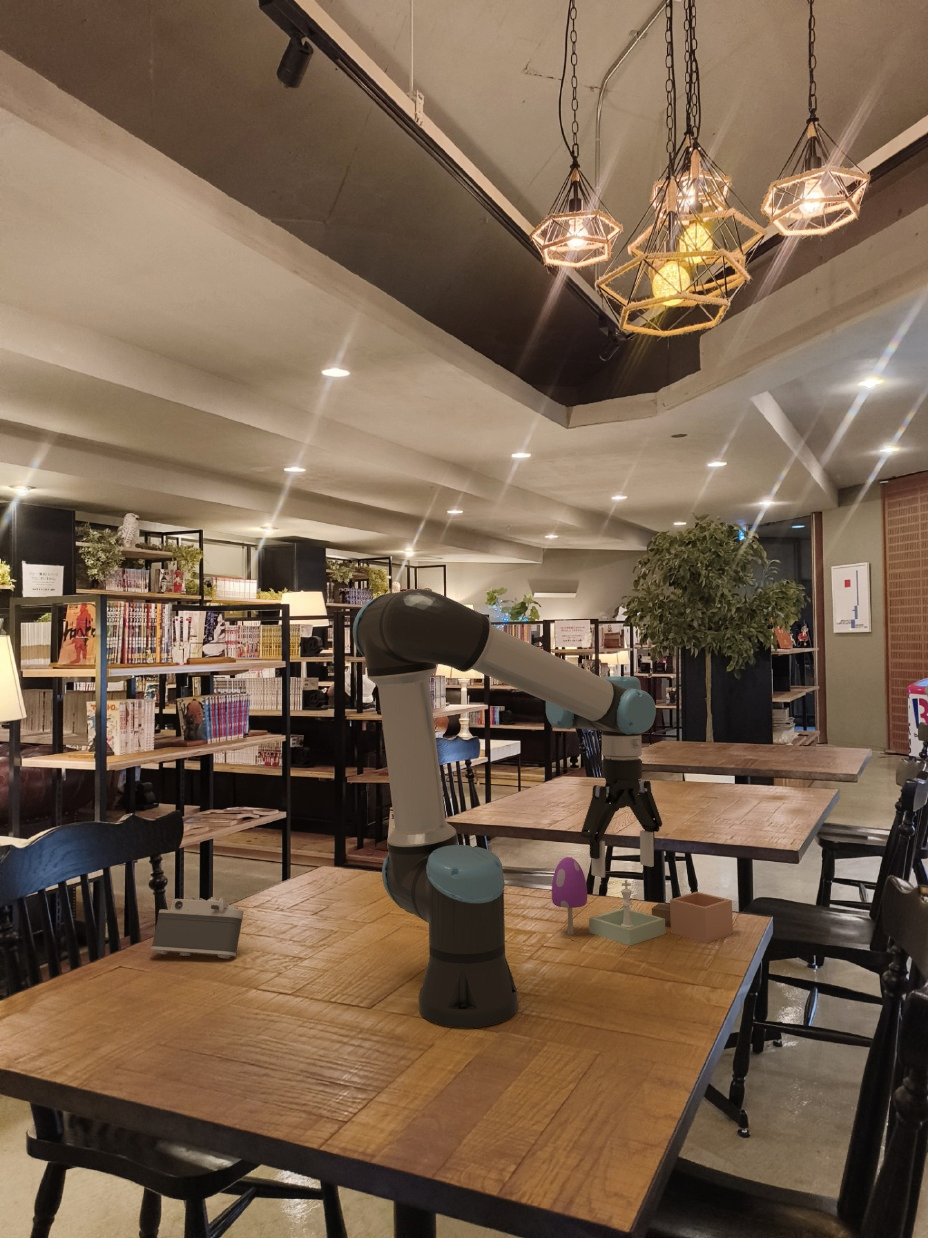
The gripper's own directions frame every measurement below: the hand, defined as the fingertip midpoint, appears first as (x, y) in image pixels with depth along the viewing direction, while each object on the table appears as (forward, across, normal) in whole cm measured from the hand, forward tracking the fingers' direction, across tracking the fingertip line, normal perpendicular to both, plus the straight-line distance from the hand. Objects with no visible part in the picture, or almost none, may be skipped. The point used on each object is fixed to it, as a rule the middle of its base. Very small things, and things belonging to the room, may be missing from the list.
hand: (623, 871), depth 165 cm
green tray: (+12, +1, 0) cm, 12 cm away
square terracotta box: (+12, +11, -10) cm, 19 cm away
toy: (+13, -7, +7) cm, 16 cm away
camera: (+14, -63, +47) cm, 80 cm away
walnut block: (+12, +11, -1) cm, 16 cm away
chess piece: (+12, +1, 0) cm, 12 cm away
